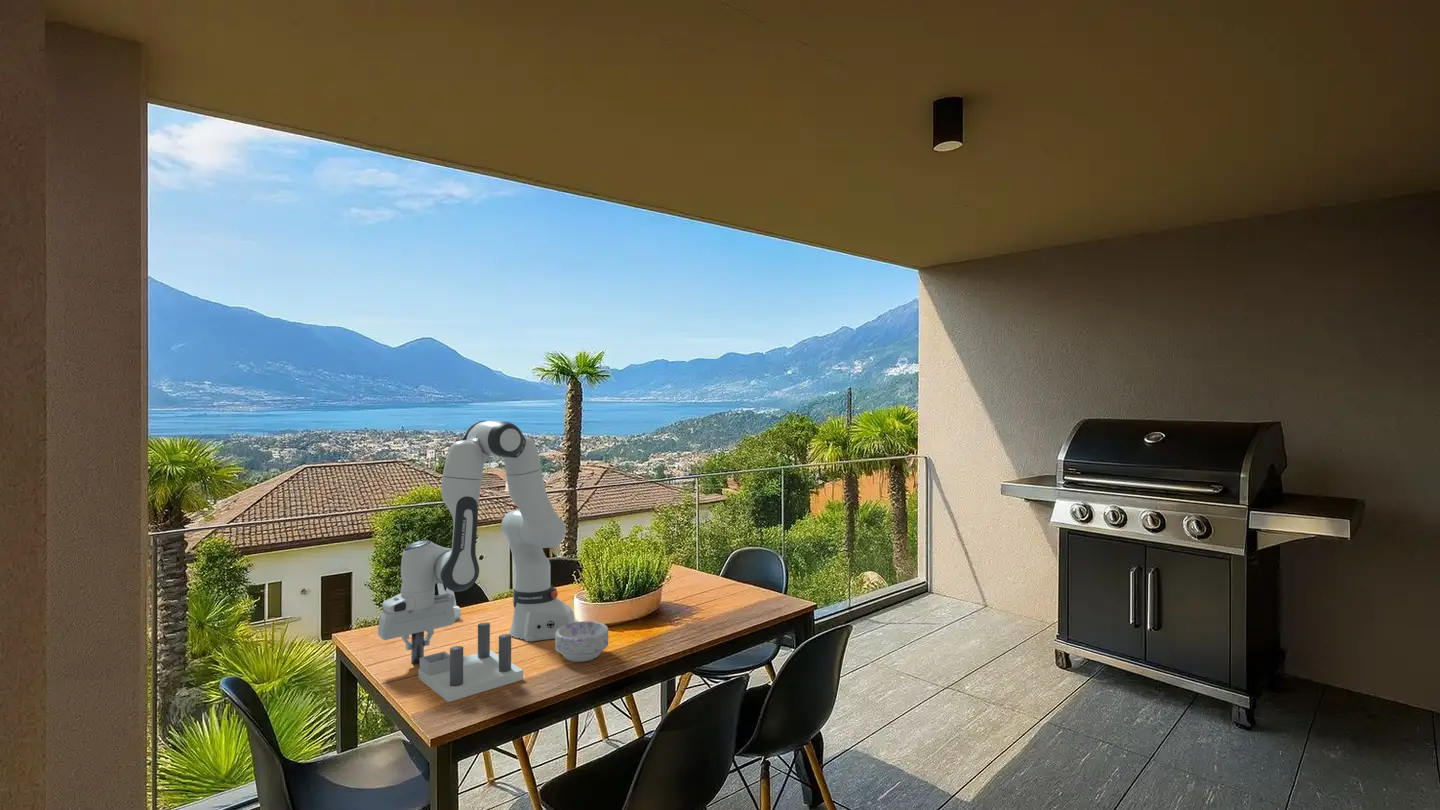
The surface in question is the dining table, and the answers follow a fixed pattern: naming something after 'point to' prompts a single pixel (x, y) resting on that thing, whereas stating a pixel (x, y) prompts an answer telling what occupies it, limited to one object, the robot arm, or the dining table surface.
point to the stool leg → (417, 647)
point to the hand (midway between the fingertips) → (417, 647)
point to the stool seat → (470, 668)
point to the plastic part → (456, 608)
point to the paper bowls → (581, 640)
